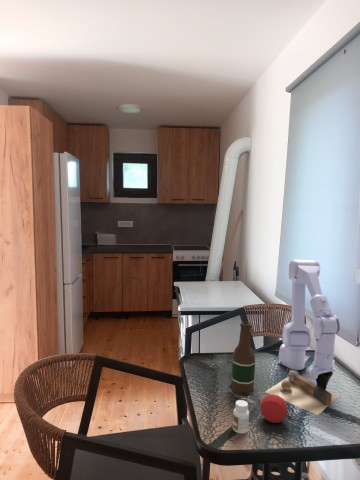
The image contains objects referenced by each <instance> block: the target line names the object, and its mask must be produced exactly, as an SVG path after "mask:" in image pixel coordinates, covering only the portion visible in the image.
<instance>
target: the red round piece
mask: <svg viewBox="0 0 360 480" xmlns="http://www.w3.org/2000/svg"><path fill="white" fill-rule="evenodd" d="M259 406H260V407H259V409H260V413H261V415H262V416H263V417H264V418H263V419H266V420H267V421H268V422H270V423H274V424H275V423H276V424H278V423H282V422H283V421H284V420H285V419H286V418H287V415H288V412H289V410H288V406H287V402H286V401H284V399H283V398H281V397H280V396H278V395H274V394H268V393H267V394H266V396H264V397H263V398H262V399H261V401H260V405H259Z"/></svg>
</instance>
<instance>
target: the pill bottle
mask: <svg viewBox="0 0 360 480" xmlns="http://www.w3.org/2000/svg"><path fill="white" fill-rule="evenodd" d="M232 412H233V414H232V415H233V416H232V430H233V431H234V432H235V433H237V434H241V435H242V434H246V433H248V431H249V427H250V426H249V425H250V424H249V423H250V411H249V403H248V402H247V401H245V400H244V399H238V400H236V401H235V407H234V409H233V411H232Z"/></svg>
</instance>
